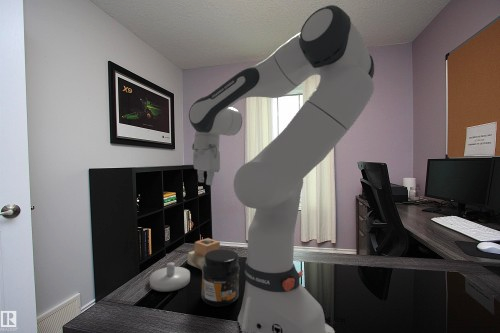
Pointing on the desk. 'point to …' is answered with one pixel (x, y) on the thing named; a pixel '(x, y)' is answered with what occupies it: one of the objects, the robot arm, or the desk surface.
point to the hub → (169, 278)
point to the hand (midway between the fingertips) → (204, 183)
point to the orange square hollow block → (206, 246)
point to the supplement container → (220, 277)
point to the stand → (197, 258)
